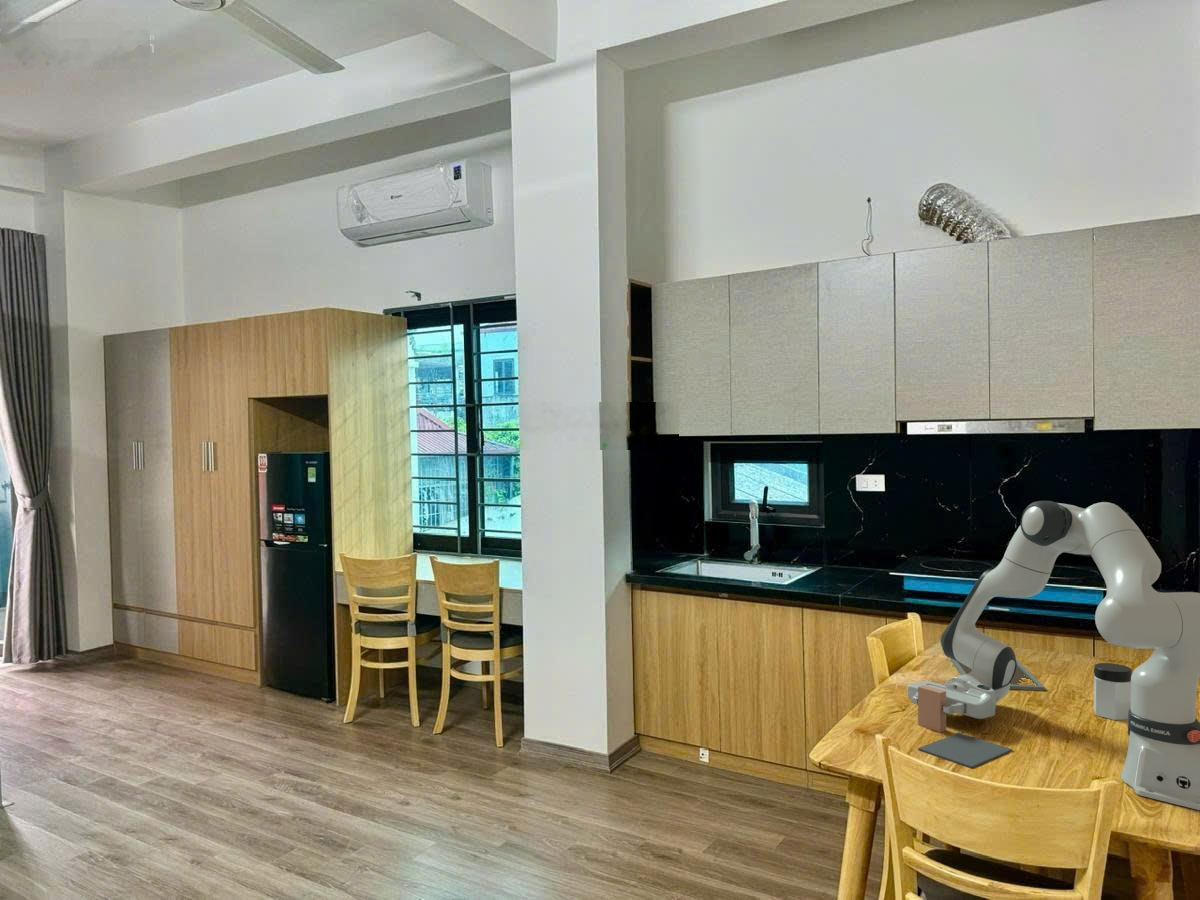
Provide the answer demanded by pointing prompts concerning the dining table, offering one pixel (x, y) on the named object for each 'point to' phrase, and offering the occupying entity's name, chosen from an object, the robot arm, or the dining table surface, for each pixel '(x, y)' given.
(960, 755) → the mat
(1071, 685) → the dining table surface
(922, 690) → the block
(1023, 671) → the grey picture frame
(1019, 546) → the robot arm
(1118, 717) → the jar
